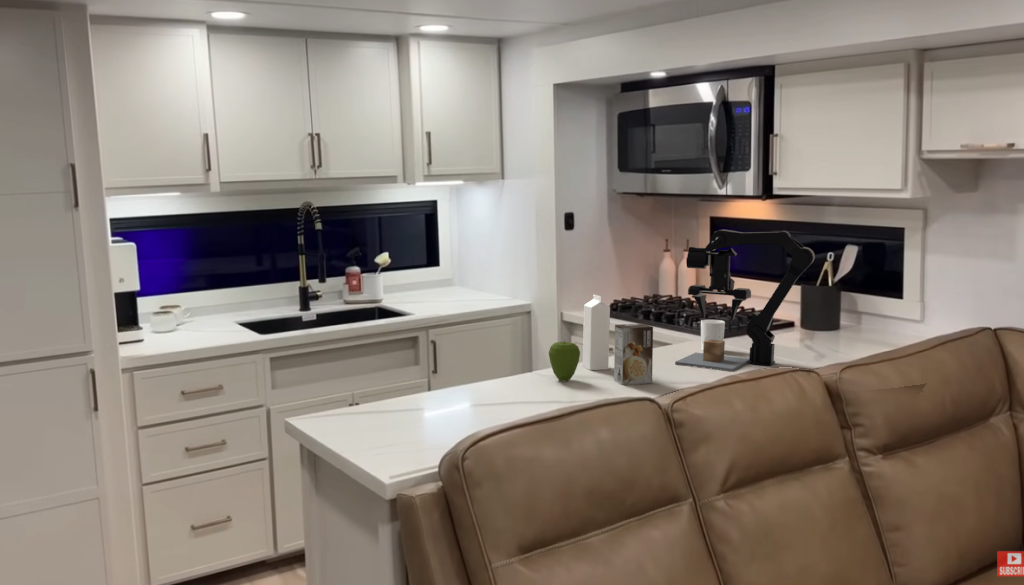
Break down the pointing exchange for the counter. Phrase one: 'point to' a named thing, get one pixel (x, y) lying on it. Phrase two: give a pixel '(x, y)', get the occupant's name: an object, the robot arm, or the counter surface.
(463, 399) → the counter surface
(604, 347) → the milk
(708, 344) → the walnut block
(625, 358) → the printed cardboard box
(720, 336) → the white cup
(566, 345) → the apple
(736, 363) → the slate mat
